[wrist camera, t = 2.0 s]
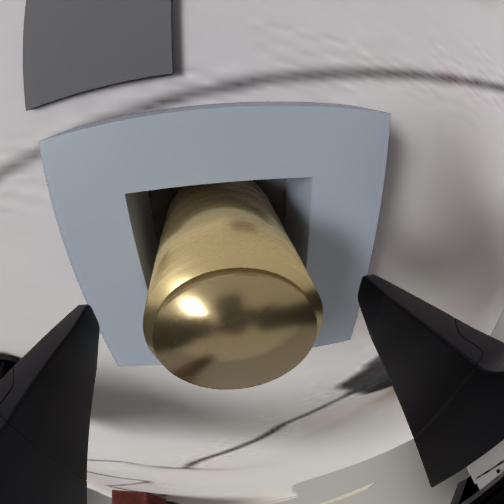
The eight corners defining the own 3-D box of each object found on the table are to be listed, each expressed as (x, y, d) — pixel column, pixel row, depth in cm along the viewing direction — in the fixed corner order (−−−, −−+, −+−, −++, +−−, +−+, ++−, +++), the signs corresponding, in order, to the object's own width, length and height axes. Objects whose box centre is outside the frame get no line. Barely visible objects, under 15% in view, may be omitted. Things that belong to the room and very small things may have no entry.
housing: (328, 298, 17) (350, 339, 14) (127, 319, 16) (118, 365, 13) (347, 104, 11) (390, 113, 9) (77, 126, 10) (38, 141, 7)
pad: (173, 73, 10) (172, 73, 10) (30, 109, 9) (26, 110, 9) (173, -58, 6) (172, -62, 6) (32, -15, 5) (28, -17, 5)
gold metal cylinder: (272, 262, 15) (315, 381, 9) (175, 272, 15) (166, 398, 8) (272, 168, 13) (341, 254, 6) (159, 177, 12) (115, 277, 6)
